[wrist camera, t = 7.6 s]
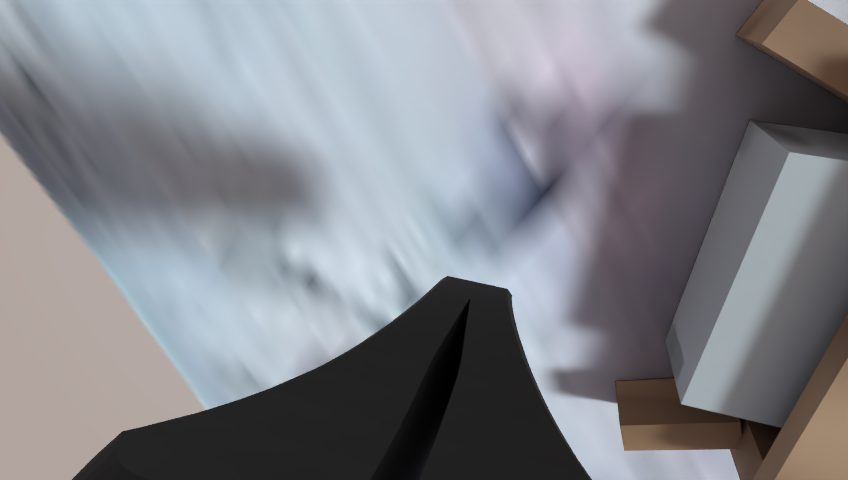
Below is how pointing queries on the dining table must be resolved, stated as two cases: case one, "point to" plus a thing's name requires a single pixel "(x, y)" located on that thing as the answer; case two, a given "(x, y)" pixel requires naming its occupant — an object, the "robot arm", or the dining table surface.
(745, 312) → the grey slab
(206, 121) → the dining table surface
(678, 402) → the walnut shelf
